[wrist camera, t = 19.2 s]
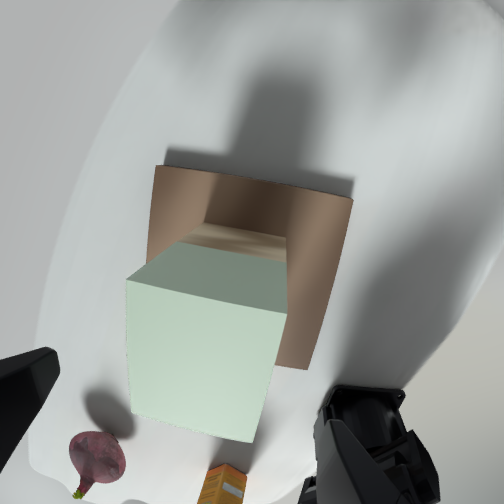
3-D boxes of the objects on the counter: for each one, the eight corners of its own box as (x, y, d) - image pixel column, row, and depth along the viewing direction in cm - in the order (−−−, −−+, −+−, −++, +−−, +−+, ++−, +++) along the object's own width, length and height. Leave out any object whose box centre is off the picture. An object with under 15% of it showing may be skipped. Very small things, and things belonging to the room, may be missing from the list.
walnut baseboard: (349, 197, 19) (353, 199, 18) (306, 360, 22) (307, 370, 21) (162, 165, 19) (155, 165, 18) (149, 327, 23) (143, 335, 21)
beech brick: (285, 237, 19) (286, 263, 14) (267, 326, 20) (261, 371, 15) (203, 222, 19) (176, 242, 14) (192, 310, 20) (168, 351, 16)
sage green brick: (286, 262, 14) (287, 313, 9) (261, 371, 15) (252, 443, 11) (176, 241, 14) (126, 279, 9) (168, 350, 16) (131, 412, 11)
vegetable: (144, 455, 28) (113, 522, 18) (101, 447, 28) (66, 505, 19) (124, 418, 26) (82, 490, 17) (79, 411, 27) (34, 471, 17)
